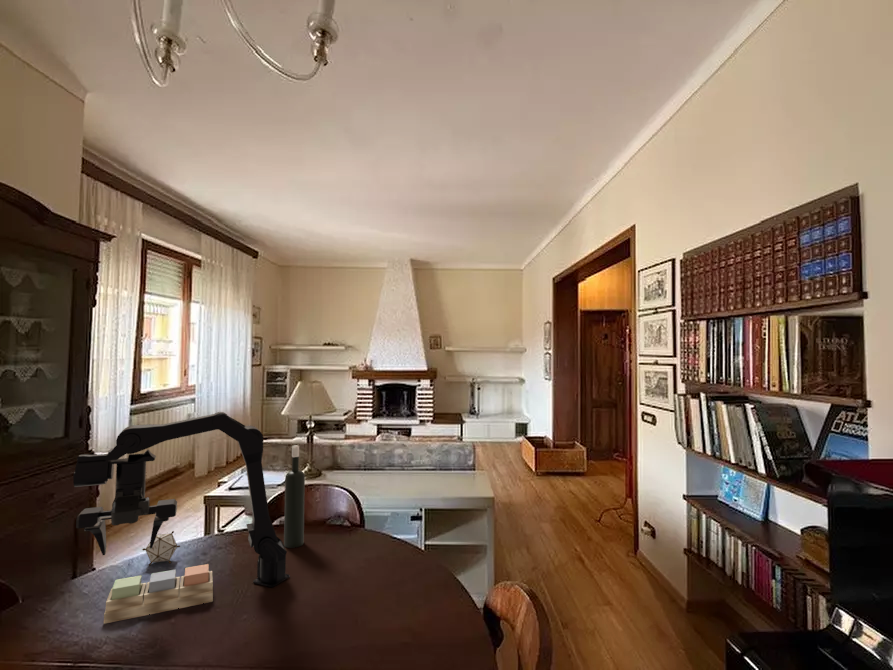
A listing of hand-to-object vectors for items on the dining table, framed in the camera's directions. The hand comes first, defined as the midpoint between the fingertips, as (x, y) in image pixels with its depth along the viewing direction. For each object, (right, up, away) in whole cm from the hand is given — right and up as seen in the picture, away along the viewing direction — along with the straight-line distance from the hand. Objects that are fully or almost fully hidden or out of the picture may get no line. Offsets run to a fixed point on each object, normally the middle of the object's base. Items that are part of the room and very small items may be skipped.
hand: (128, 551), depth 108 cm
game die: (-7, -15, +25) cm, 29 cm away
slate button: (+6, -10, +3) cm, 12 cm away
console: (+6, -13, +3) cm, 15 cm away
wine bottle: (+26, -15, +38) cm, 48 cm away
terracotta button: (+13, -10, +6) cm, 17 cm away
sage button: (0, -10, -1) cm, 10 cm away
